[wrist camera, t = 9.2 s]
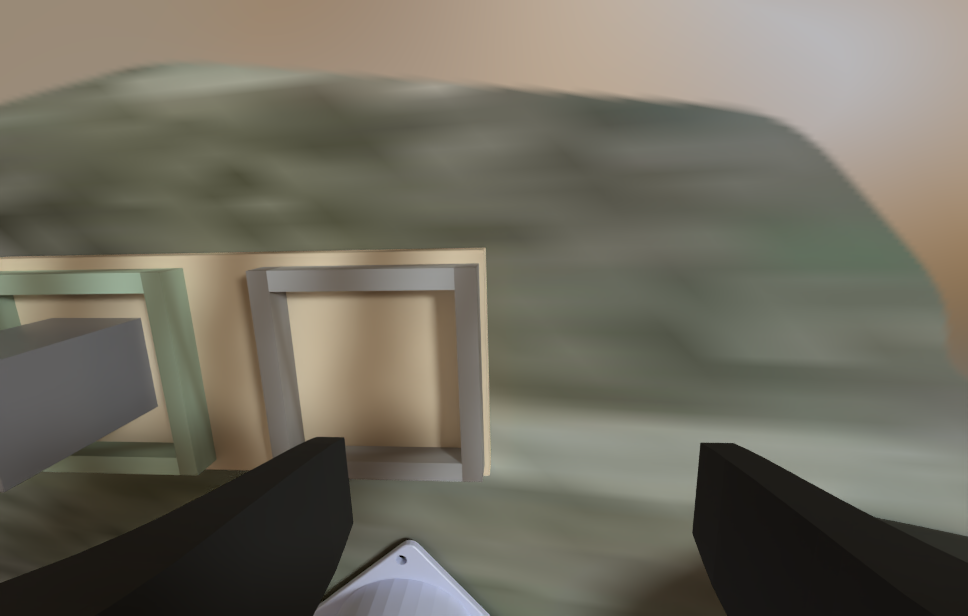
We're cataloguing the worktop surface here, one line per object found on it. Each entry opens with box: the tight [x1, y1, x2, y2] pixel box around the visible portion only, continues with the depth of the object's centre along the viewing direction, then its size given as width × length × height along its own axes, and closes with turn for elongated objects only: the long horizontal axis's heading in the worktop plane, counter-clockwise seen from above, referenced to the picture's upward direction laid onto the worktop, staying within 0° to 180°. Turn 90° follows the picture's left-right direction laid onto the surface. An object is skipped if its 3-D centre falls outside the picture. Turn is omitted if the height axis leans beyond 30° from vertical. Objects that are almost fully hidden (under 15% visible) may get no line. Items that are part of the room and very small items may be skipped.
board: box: [0, 248, 491, 482], centre depth 19 cm, size 21×10×2 cm, turn 91°
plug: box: [0, 318, 158, 492], centre depth 16 cm, size 4×4×6 cm
